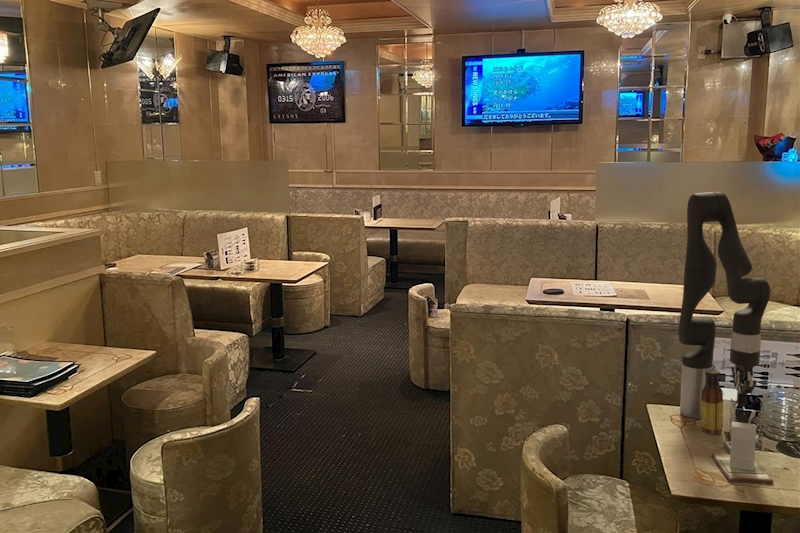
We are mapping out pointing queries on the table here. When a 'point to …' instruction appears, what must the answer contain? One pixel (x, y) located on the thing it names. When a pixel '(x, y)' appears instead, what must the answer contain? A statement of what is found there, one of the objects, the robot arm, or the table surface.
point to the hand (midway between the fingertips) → (741, 404)
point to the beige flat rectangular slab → (741, 471)
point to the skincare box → (742, 446)
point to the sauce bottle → (712, 404)
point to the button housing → (727, 447)
